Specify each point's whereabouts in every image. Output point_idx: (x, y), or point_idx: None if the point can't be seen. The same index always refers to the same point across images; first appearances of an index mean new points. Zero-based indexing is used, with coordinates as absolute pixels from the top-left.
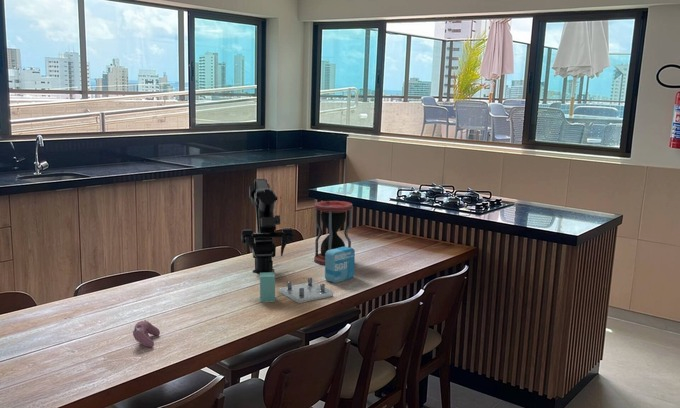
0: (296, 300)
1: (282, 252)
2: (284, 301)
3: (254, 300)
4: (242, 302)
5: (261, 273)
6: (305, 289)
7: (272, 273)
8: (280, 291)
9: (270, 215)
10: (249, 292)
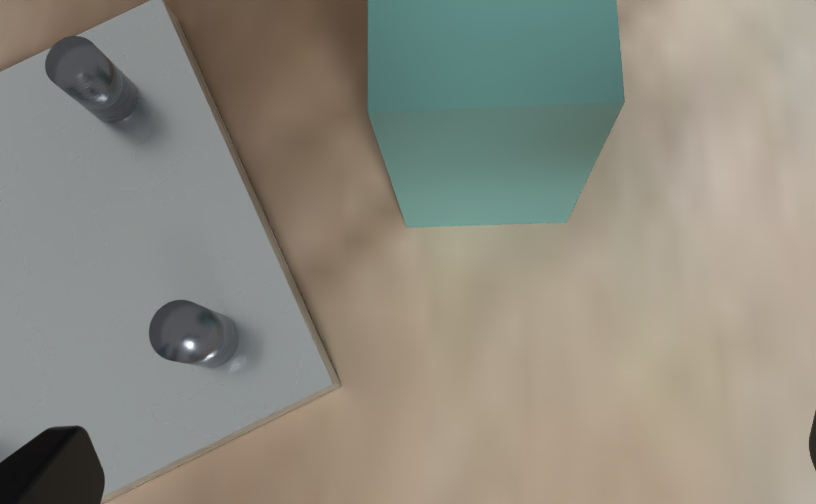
0: (189, 50)
1: (3, 470)
2: (310, 77)
3: (623, 127)
4: (751, 75)
5: (591, 51)
6: (32, 293)
7: (400, 42)
8: (326, 356)
9: None
10: (702, 410)
